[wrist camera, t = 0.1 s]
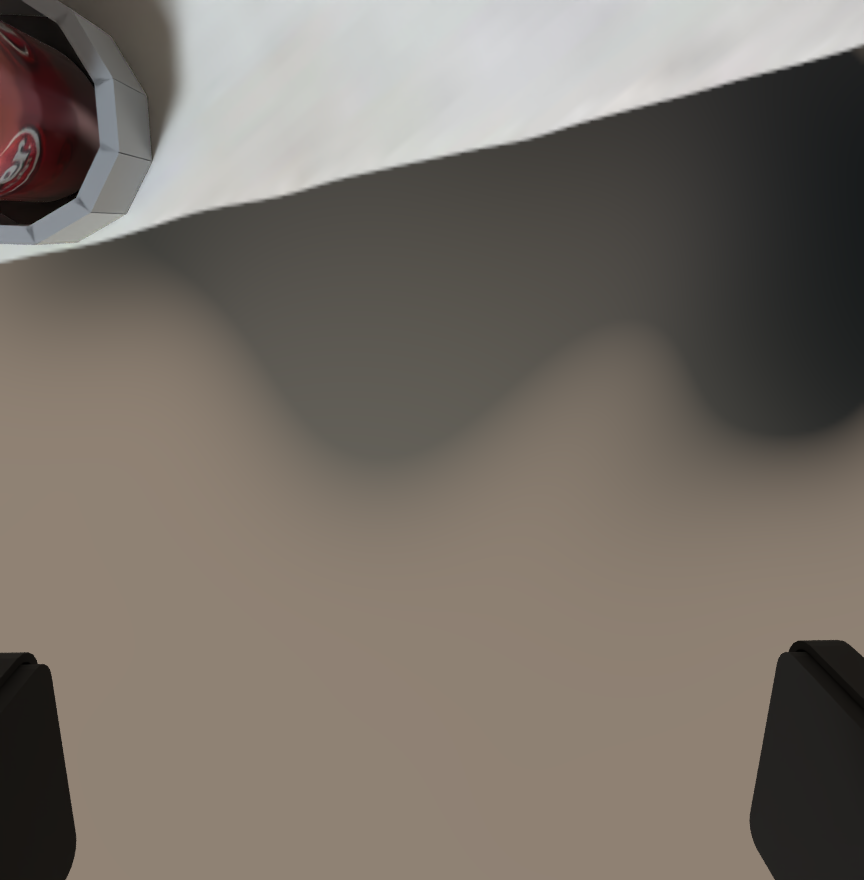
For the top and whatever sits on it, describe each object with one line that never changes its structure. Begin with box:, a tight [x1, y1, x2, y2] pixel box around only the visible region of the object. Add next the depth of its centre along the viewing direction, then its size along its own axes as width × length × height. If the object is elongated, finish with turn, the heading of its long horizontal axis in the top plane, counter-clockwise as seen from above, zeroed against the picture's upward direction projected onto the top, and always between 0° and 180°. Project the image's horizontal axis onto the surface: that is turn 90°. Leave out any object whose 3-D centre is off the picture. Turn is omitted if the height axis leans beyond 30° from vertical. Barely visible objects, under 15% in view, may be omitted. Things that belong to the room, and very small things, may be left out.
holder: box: [0, 0, 152, 245], centre depth 33 cm, size 11×11×4 cm
